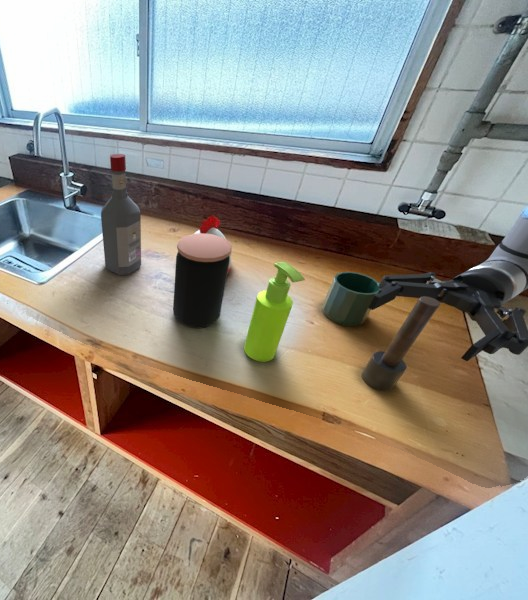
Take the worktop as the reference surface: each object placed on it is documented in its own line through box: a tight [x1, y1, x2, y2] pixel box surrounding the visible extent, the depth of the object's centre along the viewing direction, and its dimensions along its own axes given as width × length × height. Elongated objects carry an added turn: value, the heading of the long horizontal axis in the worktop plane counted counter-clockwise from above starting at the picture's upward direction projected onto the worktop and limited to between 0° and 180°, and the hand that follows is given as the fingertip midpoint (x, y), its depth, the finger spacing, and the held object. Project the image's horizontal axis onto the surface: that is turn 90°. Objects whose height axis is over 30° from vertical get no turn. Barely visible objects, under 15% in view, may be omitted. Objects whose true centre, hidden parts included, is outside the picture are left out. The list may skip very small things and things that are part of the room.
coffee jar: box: [172, 233, 233, 329], centre depth 69 cm, size 11×11×18 cm
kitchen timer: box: [193, 214, 232, 275], centre depth 86 cm, size 14×14×15 cm
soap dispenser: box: [243, 261, 306, 363], centre depth 58 cm, size 6×7×20 cm
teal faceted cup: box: [321, 271, 381, 327], centre depth 70 cm, size 9×9×8 cm
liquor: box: [100, 153, 142, 276], centre depth 84 cm, size 9×9×30 cm
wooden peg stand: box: [361, 296, 441, 392], centre depth 52 cm, size 5×5×18 cm
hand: (416, 325), depth 51 cm, fingers open, 13 cm apart
